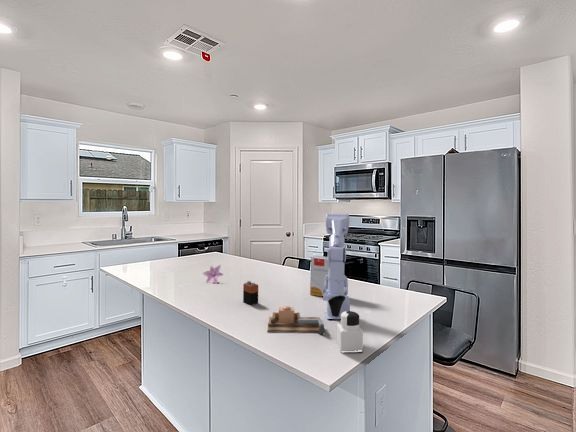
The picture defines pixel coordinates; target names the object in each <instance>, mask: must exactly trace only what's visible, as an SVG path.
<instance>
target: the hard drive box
mask: <svg viewBox="0 0 576 432" xmlns="http://www.w3.org/2000/svg"><path fill="white" fill-rule="evenodd" d="M328 270H329V267H328V256H323V255H322V256H321V255H314V256H311V258H310V282H309V283H310V284H309V285H310V286H309V287H310V288H309V295H310V296H315V295H316V297H322V296H323V295H324V294H325V293H324V284H325V277H326V276H327V275H328Z"/></svg>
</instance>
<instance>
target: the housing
mask: <svg viewBox="0 0 576 432" xmlns="http://www.w3.org/2000/svg"><path fill="white" fill-rule="evenodd" d="M268 317H269V318H268V323H267V333H319V324H311V323H298V319H321V317H319V316H316V317H315V316H301V313H300V312H294V323H279V311H278V312H277V311H276V312H275V311H273V312H272V316H268Z"/></svg>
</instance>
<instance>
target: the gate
mask: <svg viewBox="0 0 576 432" xmlns="http://www.w3.org/2000/svg"><path fill="white" fill-rule="evenodd" d="M298 323H311V324H319V332H318V335H324V330H325V326H324V325H325V324H324V323H323V321H322V318H320V319H298Z"/></svg>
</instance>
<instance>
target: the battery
mask: <svg viewBox="0 0 576 432" xmlns="http://www.w3.org/2000/svg"><path fill="white" fill-rule="evenodd" d="M242 286H243V288H242V289H243V290H242V291H243V294H242V296H243V298H242V302H243V303H246V304H248V305H251V306H254V305H257V304H259V284H257V283H255V282H252V281H251V280H248V281H247V280H246V282H244V283H243V285H242Z"/></svg>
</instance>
